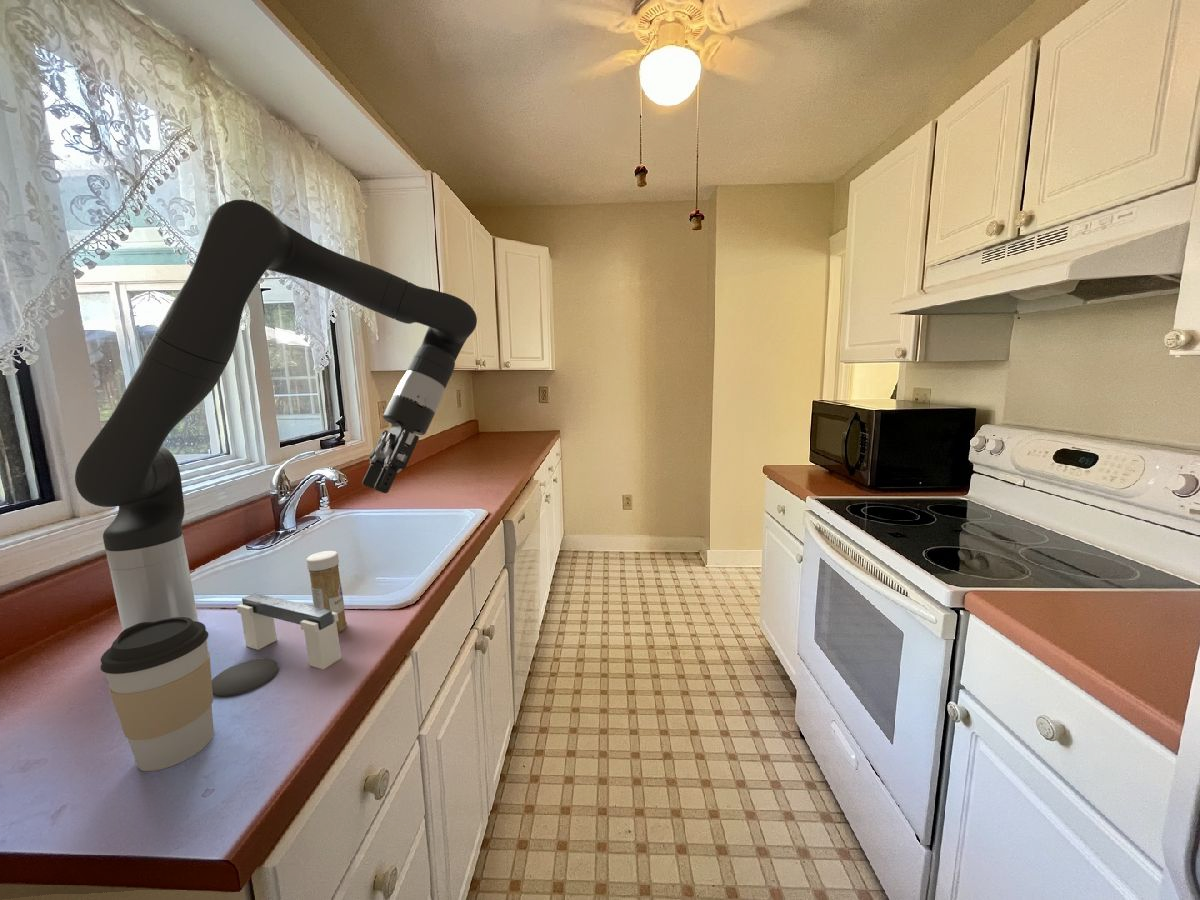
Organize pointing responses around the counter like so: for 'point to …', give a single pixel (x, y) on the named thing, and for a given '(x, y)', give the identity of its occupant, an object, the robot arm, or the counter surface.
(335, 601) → the sprinkles bottle
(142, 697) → the coffee cup
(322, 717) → the counter surface
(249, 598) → the crossbar
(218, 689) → the rubber mat
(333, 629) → the hurdle posts
